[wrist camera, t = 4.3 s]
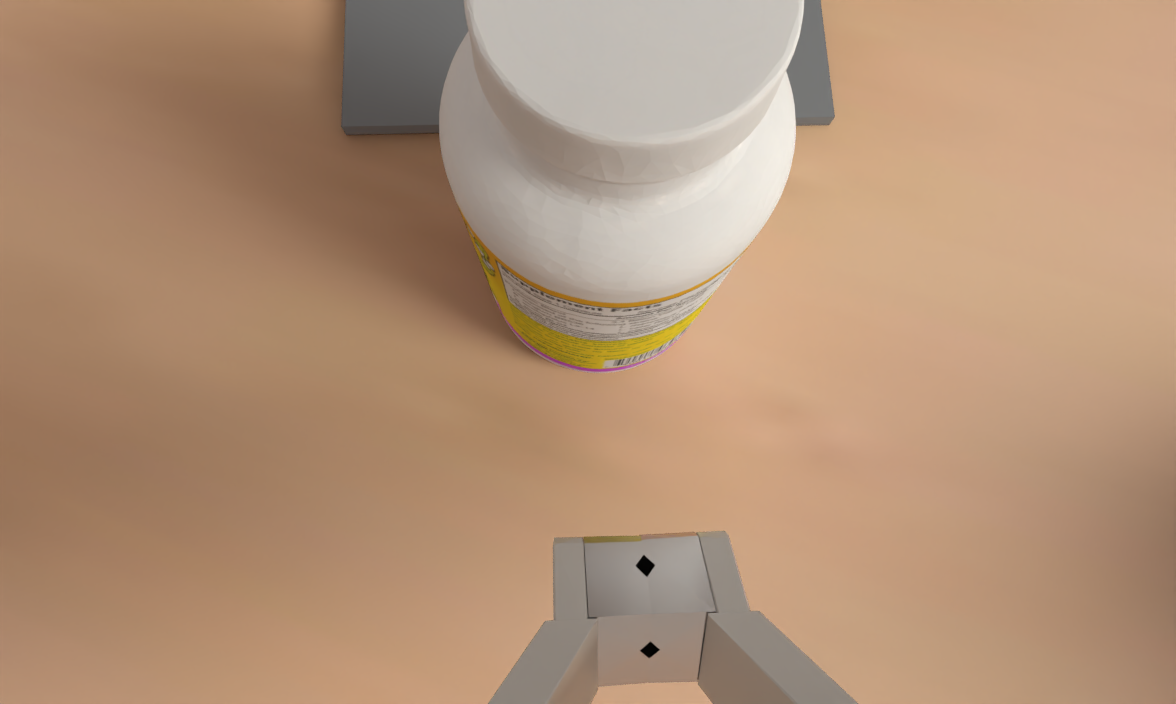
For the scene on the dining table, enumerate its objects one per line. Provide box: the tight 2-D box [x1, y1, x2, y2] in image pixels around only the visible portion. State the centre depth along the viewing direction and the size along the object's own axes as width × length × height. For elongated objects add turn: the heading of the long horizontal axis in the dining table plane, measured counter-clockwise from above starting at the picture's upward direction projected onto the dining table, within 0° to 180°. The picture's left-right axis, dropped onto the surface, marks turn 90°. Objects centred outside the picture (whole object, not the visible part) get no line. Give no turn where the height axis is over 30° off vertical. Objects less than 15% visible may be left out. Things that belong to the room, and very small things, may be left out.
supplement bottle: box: [439, 0, 804, 373], centre depth 16 cm, size 7×7×13 cm
